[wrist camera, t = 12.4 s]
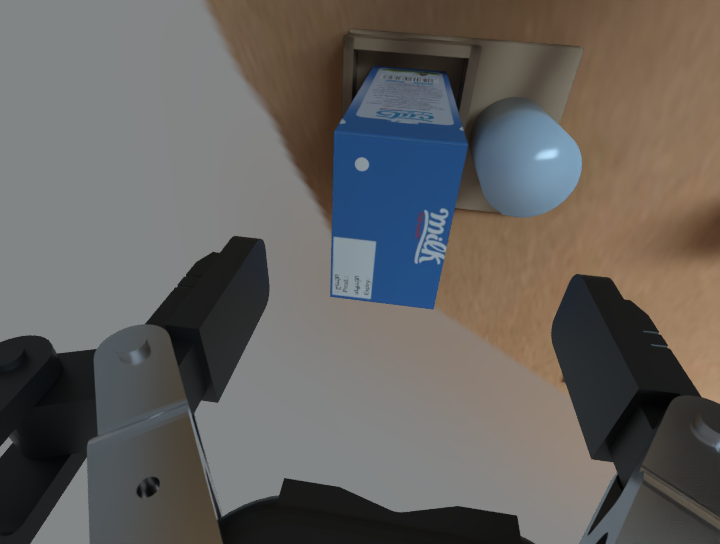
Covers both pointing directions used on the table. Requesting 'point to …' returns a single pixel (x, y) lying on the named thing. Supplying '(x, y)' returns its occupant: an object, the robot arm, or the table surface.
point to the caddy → (467, 78)
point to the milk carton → (395, 187)
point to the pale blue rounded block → (523, 158)
